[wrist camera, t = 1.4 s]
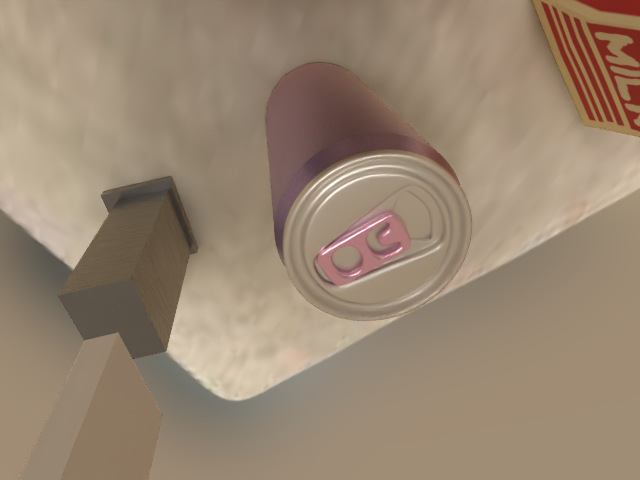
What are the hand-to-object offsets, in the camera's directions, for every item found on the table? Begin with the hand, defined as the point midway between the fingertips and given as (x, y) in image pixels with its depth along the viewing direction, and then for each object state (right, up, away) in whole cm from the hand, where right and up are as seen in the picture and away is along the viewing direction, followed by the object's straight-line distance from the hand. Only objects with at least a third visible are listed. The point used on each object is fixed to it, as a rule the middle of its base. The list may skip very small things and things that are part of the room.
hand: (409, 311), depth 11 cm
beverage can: (-2, +9, +16) cm, 18 cm away
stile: (-12, +3, +17) cm, 21 cm away
